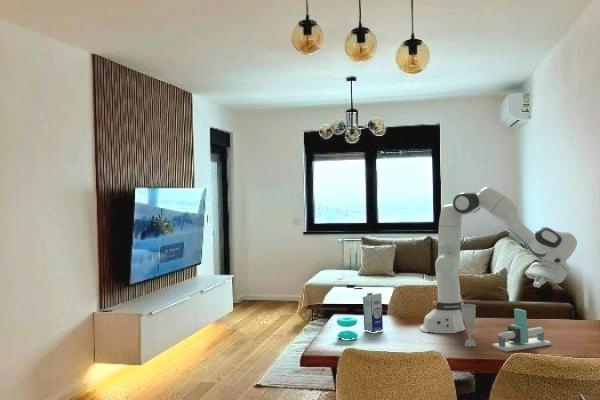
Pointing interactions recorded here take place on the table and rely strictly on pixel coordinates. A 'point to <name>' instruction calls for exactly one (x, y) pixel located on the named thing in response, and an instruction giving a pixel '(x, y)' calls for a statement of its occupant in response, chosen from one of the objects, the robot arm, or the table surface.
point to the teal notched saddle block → (521, 324)
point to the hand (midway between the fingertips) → (535, 286)
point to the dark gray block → (517, 332)
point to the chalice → (469, 320)
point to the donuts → (347, 323)
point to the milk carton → (373, 312)
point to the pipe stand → (517, 346)
